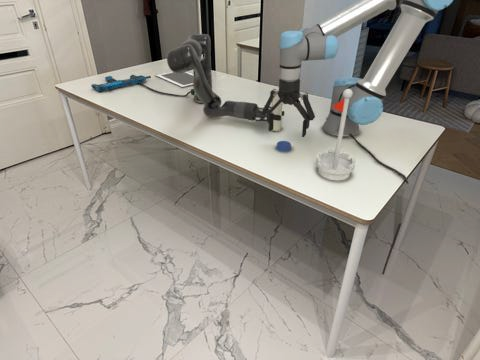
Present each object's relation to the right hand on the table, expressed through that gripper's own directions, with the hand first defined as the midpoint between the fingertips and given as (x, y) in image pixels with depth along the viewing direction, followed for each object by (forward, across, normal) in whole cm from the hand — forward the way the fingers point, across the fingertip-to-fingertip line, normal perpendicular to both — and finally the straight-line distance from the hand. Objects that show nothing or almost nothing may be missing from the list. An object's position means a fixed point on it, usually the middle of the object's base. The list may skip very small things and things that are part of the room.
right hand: (287, 132), depth 132 cm
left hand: (0, +8, -16) cm, 18 cm away
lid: (+5, +1, +1) cm, 5 cm away
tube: (+7, +11, -16) cm, 20 cm away
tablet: (+5, +93, -59) cm, 111 cm away
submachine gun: (+4, +120, -33) cm, 125 cm away
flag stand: (+7, -22, +10) cm, 25 cm away
